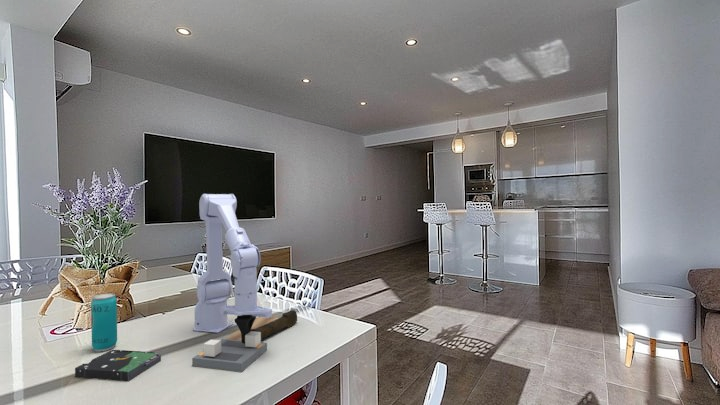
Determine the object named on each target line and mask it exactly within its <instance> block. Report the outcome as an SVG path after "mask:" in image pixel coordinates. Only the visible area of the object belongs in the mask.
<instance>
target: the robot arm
mask: <svg viewBox="0 0 720 405" xmlns="http://www.w3.org/2000/svg"><path fill="white" fill-rule="evenodd" d="M237 203H238V201H237V197H236V196H235V194H234V193H228V194H227V193H220V194H219V193H216V194H215V193H202V195H201V196H200V198H199V203H198V205H199V206H198V207H199V217H200V218H199V219H200V220H202V221H204V222H205V224H204V225H205V237H206V238H205V239H206V240H205V243H206V247H205V248H206V271H205V272H203V273H202V274H201V275H200V276H199V277H198V279H197V285H196V296H197V300H198V302H197V303H196V304H195V307H194V328H192V331H194V332H208V333H220V332H222V331H224V330H225V329H227V328H229V327H230V326H232V325H233V324H234V323H235V325H236V326H237V327H238V330H239V329H240V332H241V340H242V343H245V335H246V334H248V333H249V332H251V328H252V325H253V323H254V321H255V319H256V318H257V317H265V318H270V317H273V309H272V308H267V307H262V306H260V305H259V306H258V291H257V290H258V276H257V275H258V270H257V269H258V268H259V267H260V265H261V253H260V250H259V248H258V247H257V246H255V245H254V244H251V241H250V239H249V236H248V235H247V232H246V230H245V228H243V227H240V225H239V222H238V218H237V215H236V210H237V207H238V206H237V205H238V204H237ZM223 227H224V229H225V231H226V233H225V234H224V238H225V241H226V244H227V246H228V249H229V251H230V257H229V258H230V259H229V260H230V265H231V270H232V275H231V274H230V273H229V272H227V271H225V270H224V259H223V258H224V257H223V252H224V251H223ZM232 276H233V277H234V289H233V282H232ZM233 290H234V305H228V301H229V299H230V297H231V296H232V294H233ZM228 315H234V316H237V317H236V318H235V319H234V322H232V321H228Z"/></svg>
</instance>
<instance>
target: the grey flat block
mask: <svg viewBox="0 0 720 405" xmlns="http://www.w3.org/2000/svg"><path fill="white" fill-rule="evenodd" d="M220 340H221V352H220V353H219V354H218V355H216V356H215V357H211V356H204V350H203V351H201V352H199V353H198V354H196V355H195V356H193V357H192V359H191V360H192V365H191V366H192V367H199V368H208V369H217V370H222V371H223V370H225V371H231V372H240V373H243V372H244V371H245V370H246V369H247V368H248V367H249V366H250V365H252V364H253V363H254V362H255V361H256V360H257V359H258V358H260V357H261V356H262V355H263V354H264V353H266V352H267V350H268V343H267V342H262V341H261V343H260V344H259V345H258V346H257V347H246V346H245V343H242V340H232V339H225V338H221V339H220Z"/></svg>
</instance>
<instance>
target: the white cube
mask: <svg viewBox="0 0 720 405" xmlns="http://www.w3.org/2000/svg"><path fill="white" fill-rule="evenodd" d="M203 351H204V356H211V357H215V356H216V355H218V354H219V353H220V352H221V339H209V340H207V341H206V342H204V343H203Z"/></svg>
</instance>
